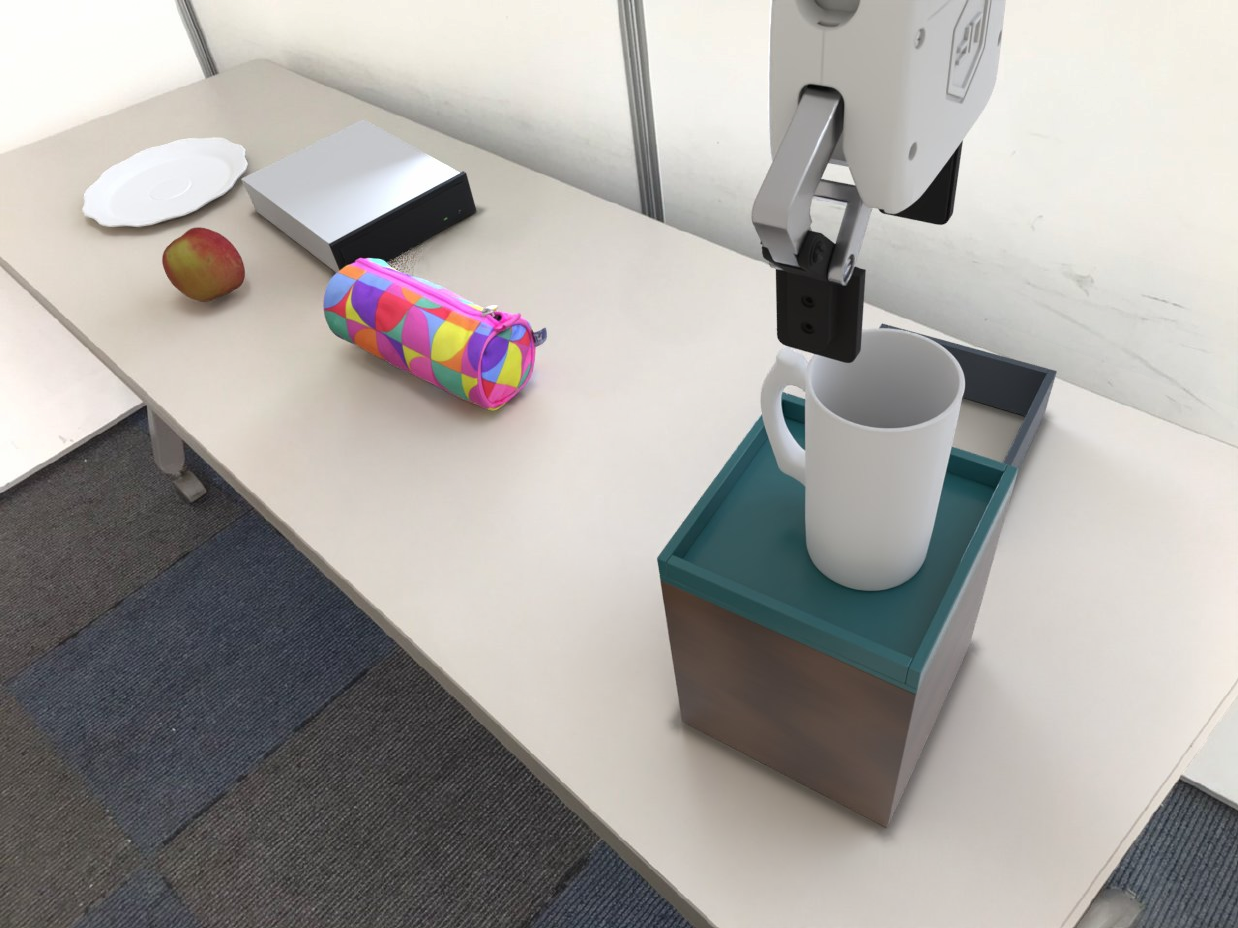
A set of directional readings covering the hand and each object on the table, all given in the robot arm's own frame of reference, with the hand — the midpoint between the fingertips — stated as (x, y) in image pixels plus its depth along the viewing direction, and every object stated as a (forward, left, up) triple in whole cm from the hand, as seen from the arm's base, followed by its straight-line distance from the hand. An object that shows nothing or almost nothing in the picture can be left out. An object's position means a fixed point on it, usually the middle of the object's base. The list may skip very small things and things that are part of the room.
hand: (869, 278), depth 39 cm
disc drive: (+73, -31, -33) cm, 86 cm away
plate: (+102, -25, -33) cm, 111 cm away
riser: (0, 0, -33) cm, 33 cm away
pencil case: (+46, -14, -33) cm, 59 cm away
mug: (0, 0, -17) cm, 17 cm away
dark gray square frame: (+2, -23, -33) cm, 41 cm away
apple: (+77, -12, -33) cm, 85 cm away
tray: (0, 0, -17) cm, 17 cm away
